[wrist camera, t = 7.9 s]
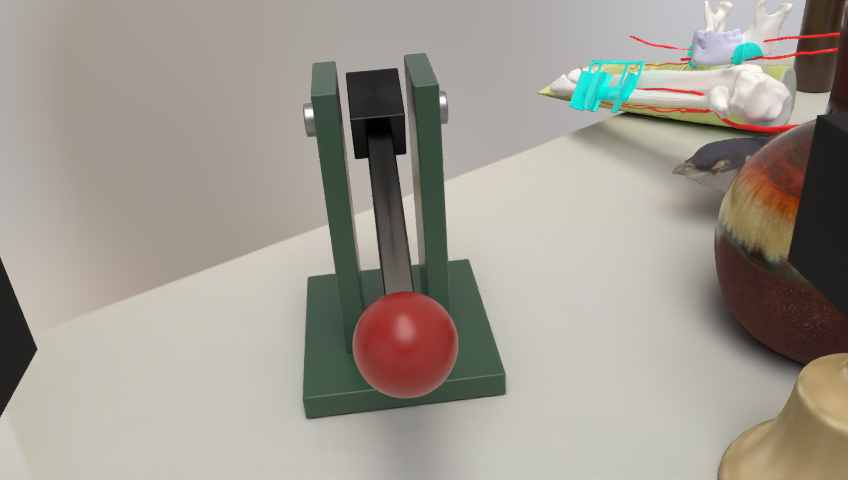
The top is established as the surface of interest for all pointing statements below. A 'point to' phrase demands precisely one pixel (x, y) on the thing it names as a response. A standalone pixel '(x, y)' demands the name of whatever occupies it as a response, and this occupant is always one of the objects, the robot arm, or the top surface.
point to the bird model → (720, 161)
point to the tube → (776, 72)
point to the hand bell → (799, 431)
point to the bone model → (701, 75)
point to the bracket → (356, 290)
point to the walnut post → (818, 45)
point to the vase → (778, 242)
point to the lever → (394, 256)
